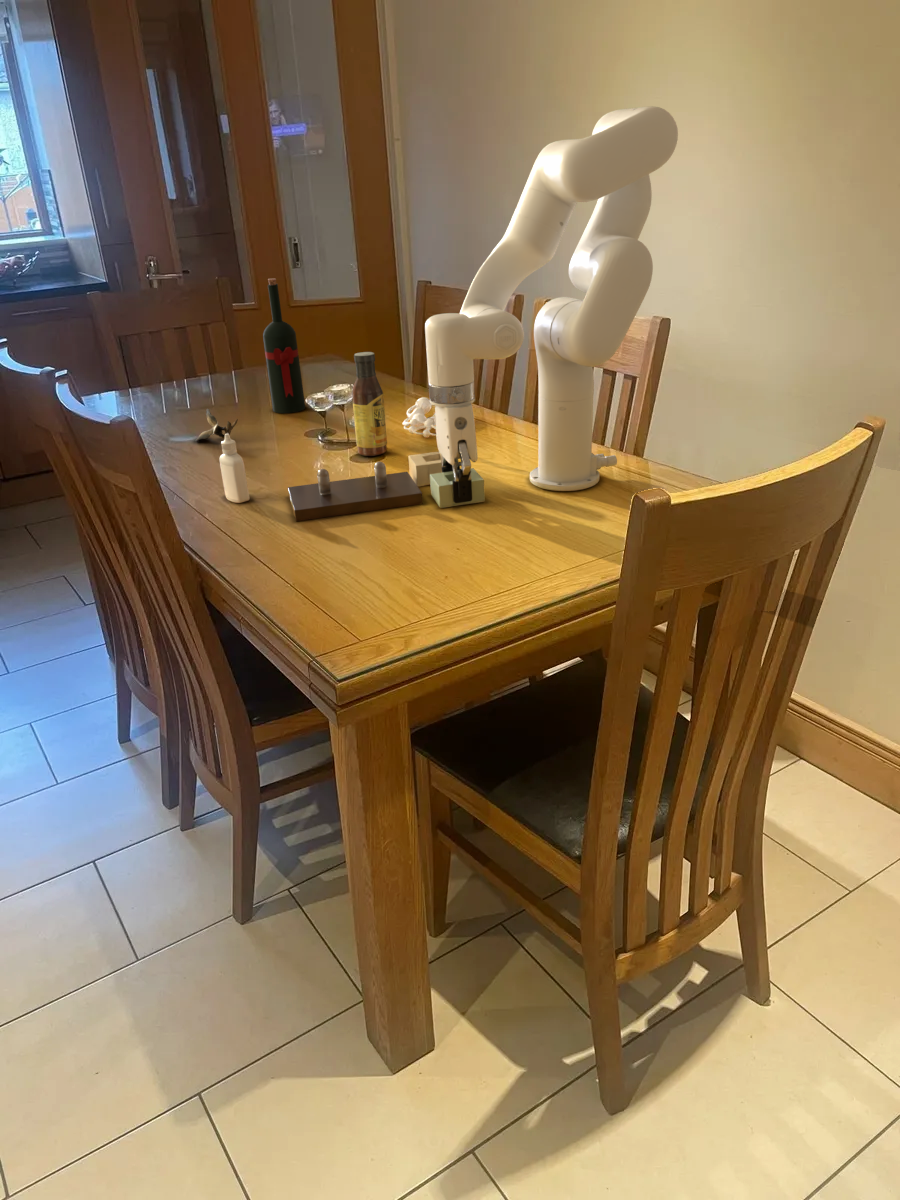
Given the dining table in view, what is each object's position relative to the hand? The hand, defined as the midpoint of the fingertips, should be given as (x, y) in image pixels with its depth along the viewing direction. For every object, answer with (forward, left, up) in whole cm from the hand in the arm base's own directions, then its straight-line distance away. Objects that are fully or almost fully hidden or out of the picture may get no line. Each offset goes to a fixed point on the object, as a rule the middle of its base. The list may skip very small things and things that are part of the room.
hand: (457, 493), depth 150 cm
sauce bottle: (+9, -32, -1) cm, 33 cm away
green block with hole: (0, 0, -1) cm, 1 cm away
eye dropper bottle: (+37, -15, -1) cm, 40 cm away
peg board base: (+17, -6, -1) cm, 18 cm away
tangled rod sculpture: (-8, -46, -1) cm, 47 cm away
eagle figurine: (+40, -54, -1) cm, 67 cm away
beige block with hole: (+1, -12, -1) cm, 12 cm away
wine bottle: (+22, -73, -1) cm, 76 cm away
